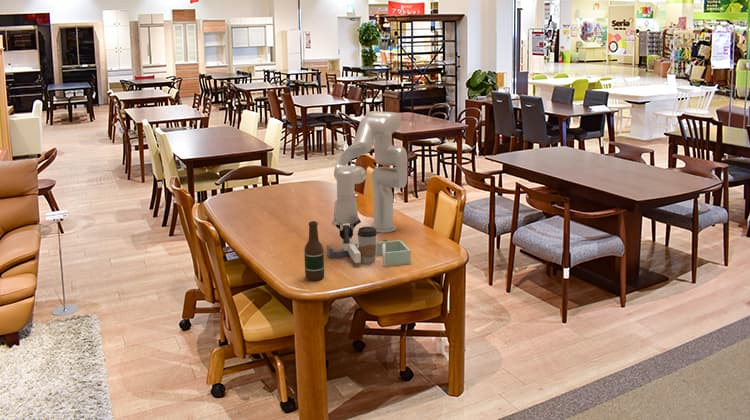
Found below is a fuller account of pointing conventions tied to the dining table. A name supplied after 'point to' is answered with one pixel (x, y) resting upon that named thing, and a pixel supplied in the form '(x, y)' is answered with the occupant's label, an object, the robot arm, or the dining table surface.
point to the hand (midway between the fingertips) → (346, 237)
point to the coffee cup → (367, 244)
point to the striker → (350, 245)
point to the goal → (393, 252)
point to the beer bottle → (314, 255)
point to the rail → (338, 252)
